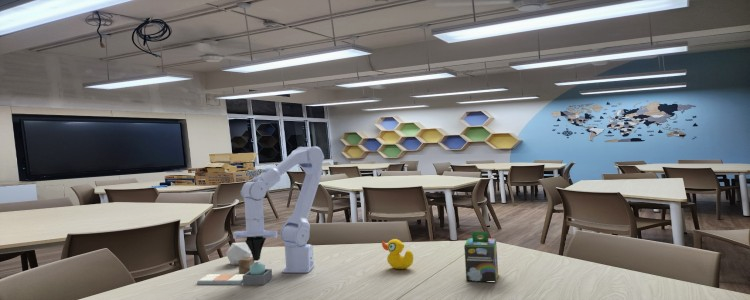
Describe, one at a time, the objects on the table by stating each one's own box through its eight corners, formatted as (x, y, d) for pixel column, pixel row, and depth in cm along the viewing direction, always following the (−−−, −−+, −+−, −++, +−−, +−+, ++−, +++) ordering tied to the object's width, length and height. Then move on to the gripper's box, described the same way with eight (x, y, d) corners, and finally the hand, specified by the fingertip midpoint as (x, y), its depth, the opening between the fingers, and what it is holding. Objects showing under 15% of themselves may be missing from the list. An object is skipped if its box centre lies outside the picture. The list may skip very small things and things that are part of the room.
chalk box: (498, 274, 139) (496, 227, 139) (496, 283, 130) (494, 234, 130) (468, 272, 142) (467, 227, 142) (465, 281, 134) (463, 233, 133)
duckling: (379, 269, 150) (378, 240, 150) (386, 264, 155) (385, 236, 155) (410, 272, 145) (408, 242, 145) (416, 267, 150) (415, 238, 149)
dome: (267, 272, 145) (266, 260, 144) (261, 277, 140) (261, 264, 140) (253, 273, 145) (253, 260, 145) (247, 277, 140) (246, 264, 140)
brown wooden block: (254, 270, 155) (254, 256, 155) (250, 274, 151) (249, 260, 151) (244, 270, 155) (243, 256, 155) (239, 274, 151) (238, 260, 151)
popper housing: (272, 277, 146) (271, 268, 146) (264, 284, 139) (263, 275, 139) (252, 277, 147) (251, 269, 146) (243, 284, 140) (242, 275, 140)
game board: (250, 277, 147) (249, 273, 147) (240, 284, 140) (240, 280, 140) (208, 277, 149) (208, 274, 149) (197, 284, 142) (197, 280, 142)
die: (237, 269, 159) (252, 246, 162) (218, 258, 160) (233, 235, 163) (243, 271, 167) (258, 249, 170) (225, 260, 168) (239, 238, 171)
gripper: (227, 221, 139) (230, 263, 139) (271, 220, 137) (273, 263, 137) (237, 217, 146) (239, 257, 146) (279, 216, 144) (281, 257, 144)
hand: (256, 259), depth 142 cm, fingers closed
